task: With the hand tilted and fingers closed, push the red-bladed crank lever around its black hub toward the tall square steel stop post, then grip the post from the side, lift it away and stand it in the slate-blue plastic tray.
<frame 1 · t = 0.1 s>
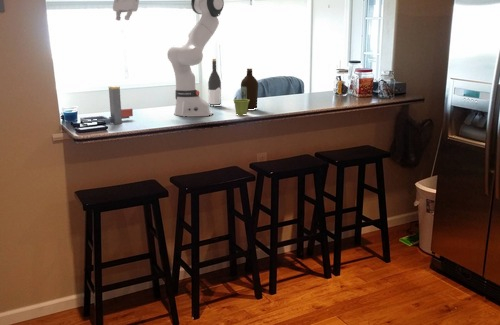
hand: (122, 20, 248), 52 cm above the counter, tool tilted 20°, fingers open, 8 cm apart
crank lever: (120, 114, 262), point 4 cm above the counter, hinge at 0.0°
crank hub: (113, 121, 261), on the counter
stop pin: (116, 123, 256), on the counter
wine bottle: (214, 106, 320), on the counter
plant pot: (241, 115, 283), on the counter
olive oil: (249, 109, 304), on the counter
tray: (95, 122, 257), on the counter
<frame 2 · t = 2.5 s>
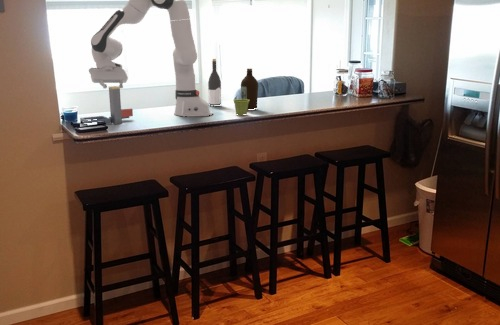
hand: (113, 87, 270), 16 cm above the counter, tool tilted 45°, fingers open, 8 cm apart
nothing on the counter moved.
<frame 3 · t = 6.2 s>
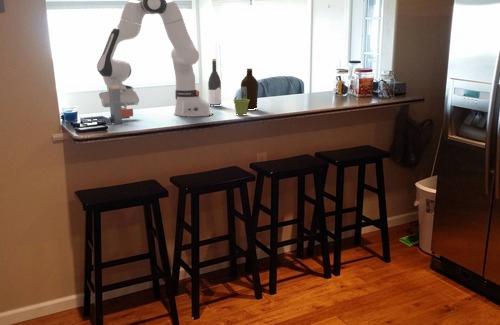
hand: (124, 111, 264), 5 cm above the counter, tool tilted 45°, fingers closed, pressing on crank lever
crank lever: (120, 114, 262), point 4 cm above the counter, hinge at 3.6°, touching gripper
everything else where it was.
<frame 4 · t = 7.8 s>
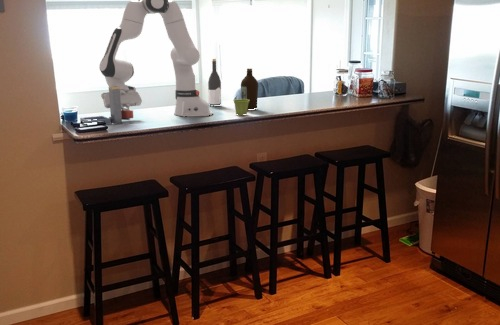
hand: (126, 112, 261), 5 cm above the counter, tool tilted 45°, fingers closed
crank lever: (120, 115, 260), point 4 cm above the counter, hinge at 39.3°, touching gripper
everything else where it was.
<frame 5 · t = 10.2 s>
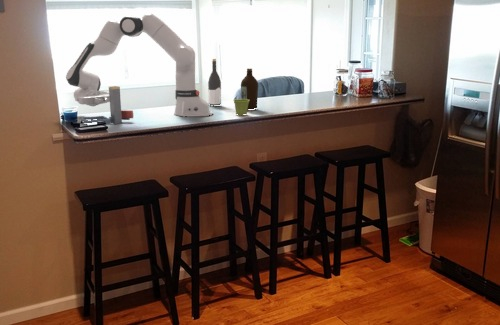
hand: (103, 100, 261), 11 cm above the counter, tool horizontal, fingers closed
crank lever: (120, 115, 260), point 4 cm above the counter, hinge at 39.3°
everything else where it was.
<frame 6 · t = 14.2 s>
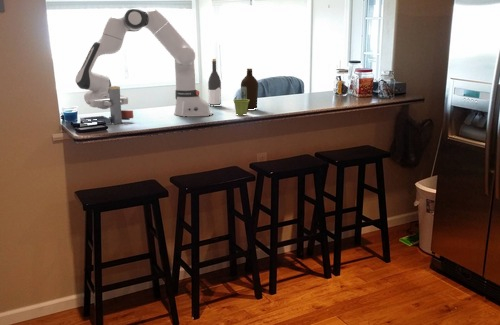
hand: (116, 103, 252), 11 cm above the counter, tool horizontal, fingers closed on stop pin, 4 cm apart
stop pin: (116, 123, 256), on the counter, touching gripper
everything else where it was.
when the fingers open (12 cm above the counter, at t = 18.5 s): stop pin stays where it is, resting on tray.
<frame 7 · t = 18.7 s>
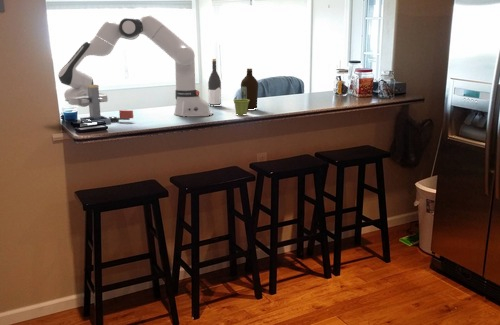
hand: (94, 100, 253), 12 cm above the counter, tool horizontal, fingers open, 6 cm apart
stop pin: (95, 121, 256), point 1 cm above the counter, touching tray
everything else where it was.
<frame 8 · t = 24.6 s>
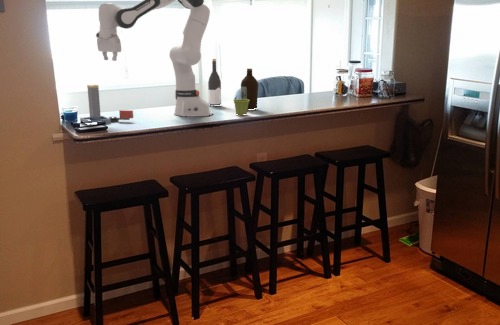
hand: (110, 60, 269), 31 cm above the counter, tool pointing down, fingers open, 8 cm apart
nothing on the counter moved.
at the end: crank lever at +39° (first picture: +0°); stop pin 0.1 cm from the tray (horizontally); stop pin point 0.6 cm above the counter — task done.
